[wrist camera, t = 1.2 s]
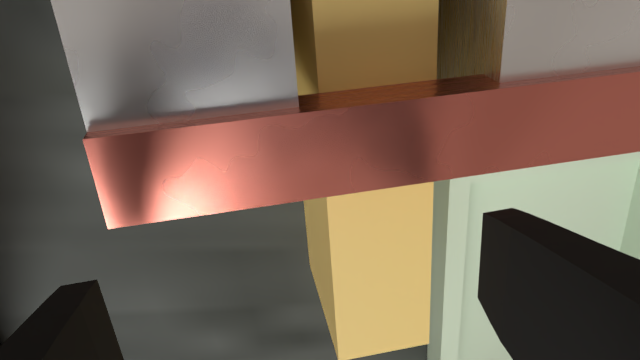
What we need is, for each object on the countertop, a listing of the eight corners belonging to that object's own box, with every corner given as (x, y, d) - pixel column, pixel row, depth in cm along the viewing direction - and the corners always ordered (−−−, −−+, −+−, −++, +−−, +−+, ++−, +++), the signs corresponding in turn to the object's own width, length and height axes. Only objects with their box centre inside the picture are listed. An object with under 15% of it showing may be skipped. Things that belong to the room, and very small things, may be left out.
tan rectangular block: (380, 251, 22) (429, 343, 17) (309, 263, 21) (338, 361, 17) (372, -67, 17) (440, -65, 12) (278, -59, 16) (307, -54, 11)
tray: (582, 444, 30) (599, 468, 29) (422, 480, 29) (433, 507, 27) (658, 120, 21) (687, 133, 20) (434, 151, 20) (450, 167, 19)
